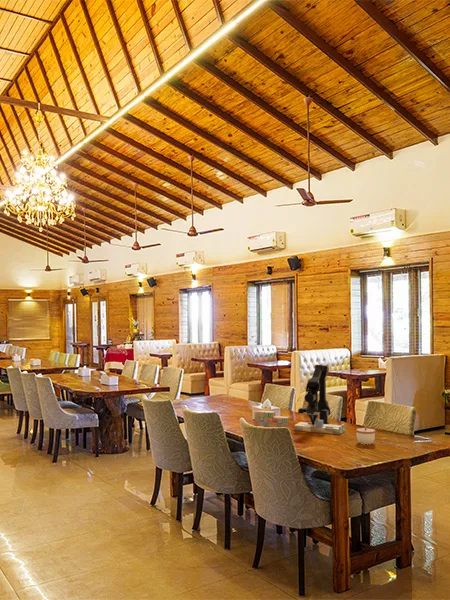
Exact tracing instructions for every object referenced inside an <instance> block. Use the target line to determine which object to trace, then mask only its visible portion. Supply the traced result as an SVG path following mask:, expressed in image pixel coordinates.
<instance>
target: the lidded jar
mask: <svg viewBox="0 0 450 600" xmlns="http://www.w3.org/2000/svg"><path fill="white" fill-rule="evenodd" d="M355 433H356V439H357V441H358V442H359V443H360V444H361V445H365V444H367V445H368V444H369V445H372V443H373V442H375V438H376V437H375V436H376V429H375V428H374V429H373V428H368V427H367V426H364V427H358V428H356V430H355ZM369 445H368V446H369Z"/></svg>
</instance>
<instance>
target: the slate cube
mask: <svg viewBox="0 0 450 600" xmlns="http://www.w3.org/2000/svg"><path fill="white" fill-rule="evenodd" d="M315 427H323V420H319V419H316V421H315Z"/></svg>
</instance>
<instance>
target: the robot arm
mask: <svg viewBox="0 0 450 600" xmlns="http://www.w3.org/2000/svg"><path fill="white" fill-rule="evenodd" d="M329 370H330V368H329V366H328V365H323V364H315V365H314V371H313V373H312V376H311V377H310V378H309V379H308V381H307V383H306V388H305V392H306V394H305V395H304V400H305V402H306V403H307V404H308V405H307V406H306V408H305V407H299V408H298V410H297V413H298V414H303V415H304V413H306V416H308V417H309V419H310V423H312V425H314V424H315V421H316V420H323V424H329V423H330V421H328V420H329V416H330V415H331V408H330V405H329V402H328V401H327V381H326V380H327V379H326V378H327V376H328V375H329ZM318 394H319V395H318ZM318 417H319V418H318ZM317 418H318V419H317Z"/></svg>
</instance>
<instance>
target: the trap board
mask: <svg viewBox="0 0 450 600" xmlns="http://www.w3.org/2000/svg"><path fill="white" fill-rule="evenodd" d="M293 430H294V431H302V432H308V433H309V432H311V433H321V434H332V435H333V434H334V435H342V434H343V433H344V432H346V422H345V423H342V424H341V425H340V424H331V423H330V424H329V423H328V424H323V427H315V424H314V425H312V422H305V421H299V422H298V423H296V424H294V425H293Z"/></svg>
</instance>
